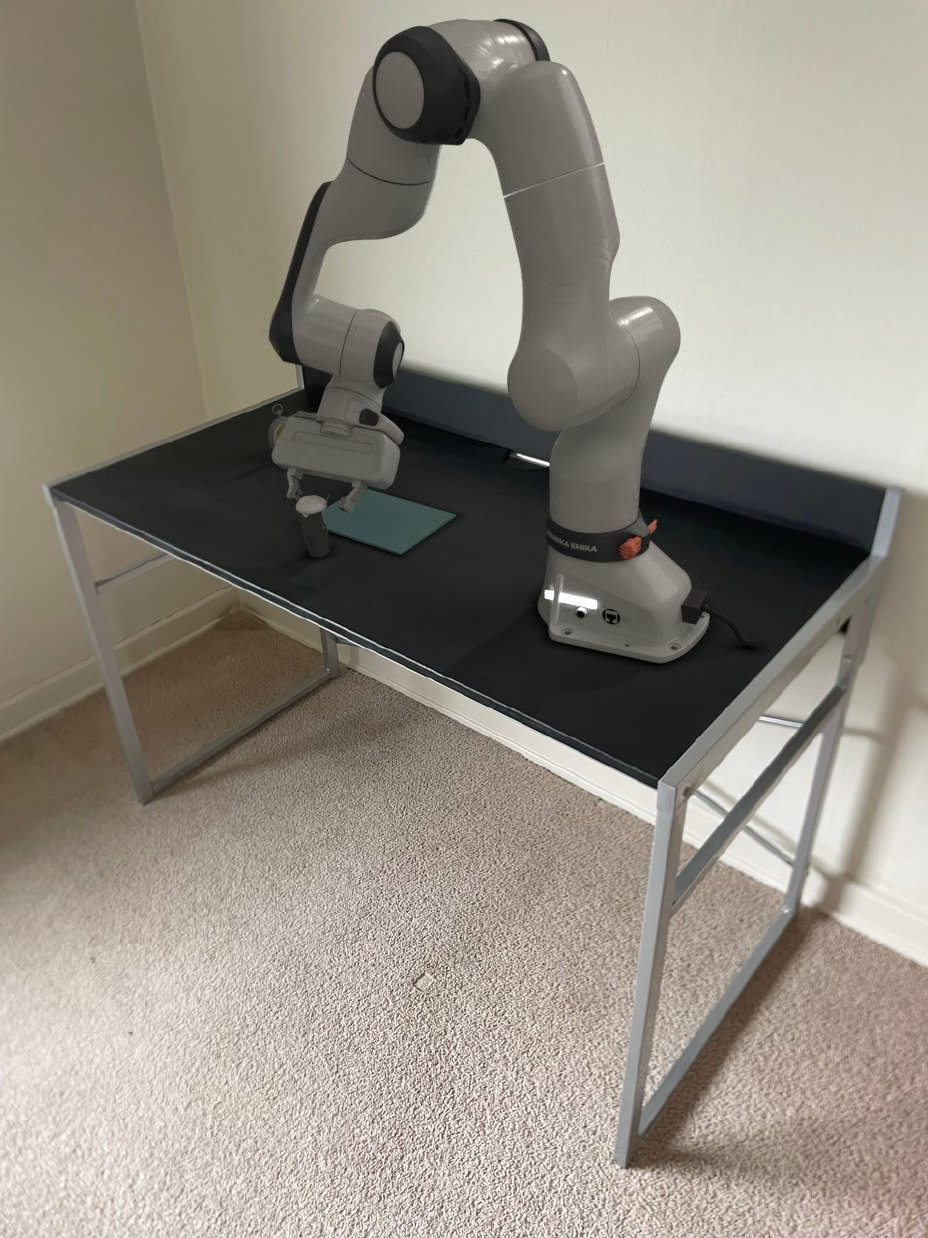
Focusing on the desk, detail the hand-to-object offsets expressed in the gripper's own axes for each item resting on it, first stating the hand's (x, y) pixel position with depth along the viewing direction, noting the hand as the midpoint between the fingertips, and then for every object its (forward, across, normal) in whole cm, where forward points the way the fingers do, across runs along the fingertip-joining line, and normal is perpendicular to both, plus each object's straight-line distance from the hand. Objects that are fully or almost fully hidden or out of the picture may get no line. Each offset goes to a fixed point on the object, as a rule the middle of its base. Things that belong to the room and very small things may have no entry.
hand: (318, 505), depth 136 cm
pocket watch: (-12, -24, +23) cm, 36 cm away
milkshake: (+6, 0, +4) cm, 8 cm away
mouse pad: (-3, +3, +13) cm, 14 cm away
